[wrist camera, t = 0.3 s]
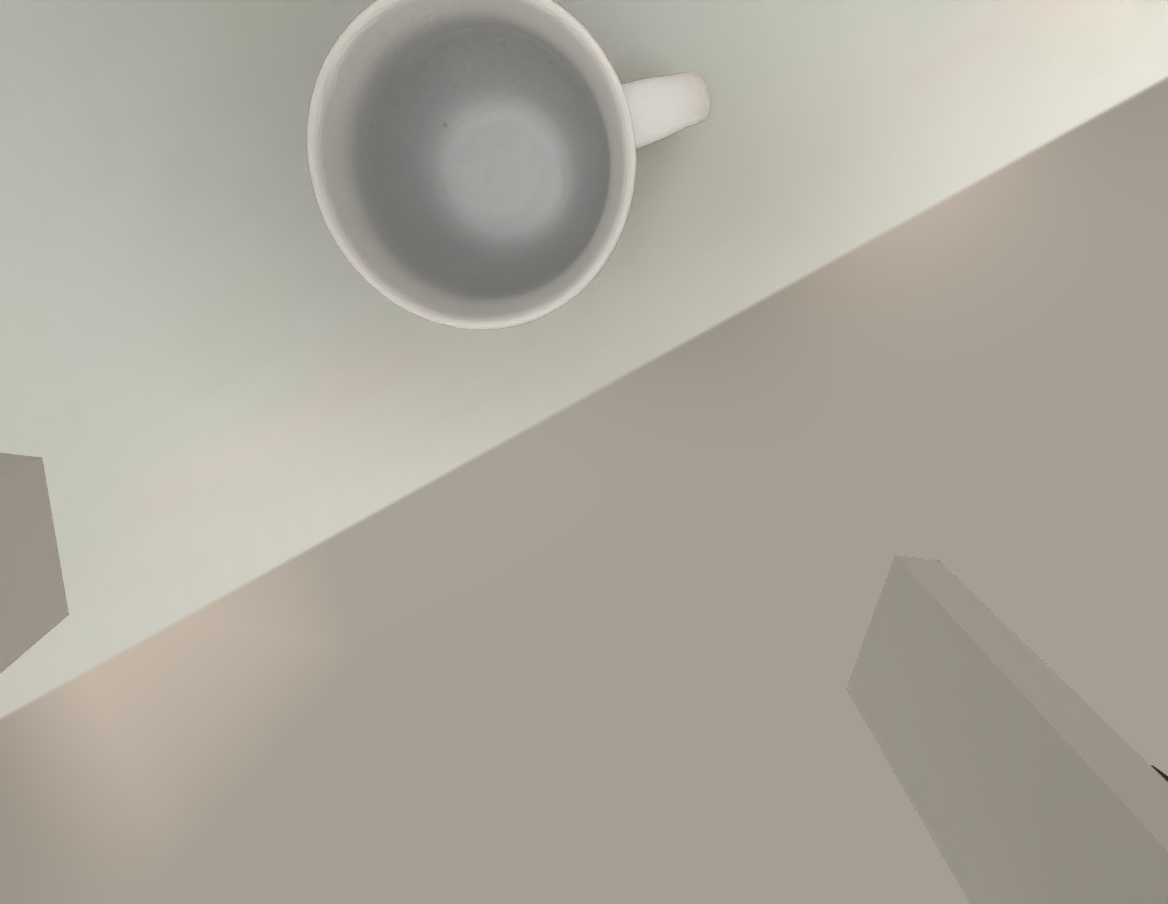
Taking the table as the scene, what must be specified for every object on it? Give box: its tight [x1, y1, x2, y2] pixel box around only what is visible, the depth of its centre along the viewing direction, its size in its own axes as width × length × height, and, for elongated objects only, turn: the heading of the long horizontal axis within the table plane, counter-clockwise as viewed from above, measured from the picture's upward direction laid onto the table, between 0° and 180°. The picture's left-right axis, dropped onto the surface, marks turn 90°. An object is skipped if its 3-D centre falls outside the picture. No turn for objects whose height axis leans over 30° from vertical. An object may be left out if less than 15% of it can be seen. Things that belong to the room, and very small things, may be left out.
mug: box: [307, 0, 710, 330], centre depth 28 cm, size 15×11×13 cm
